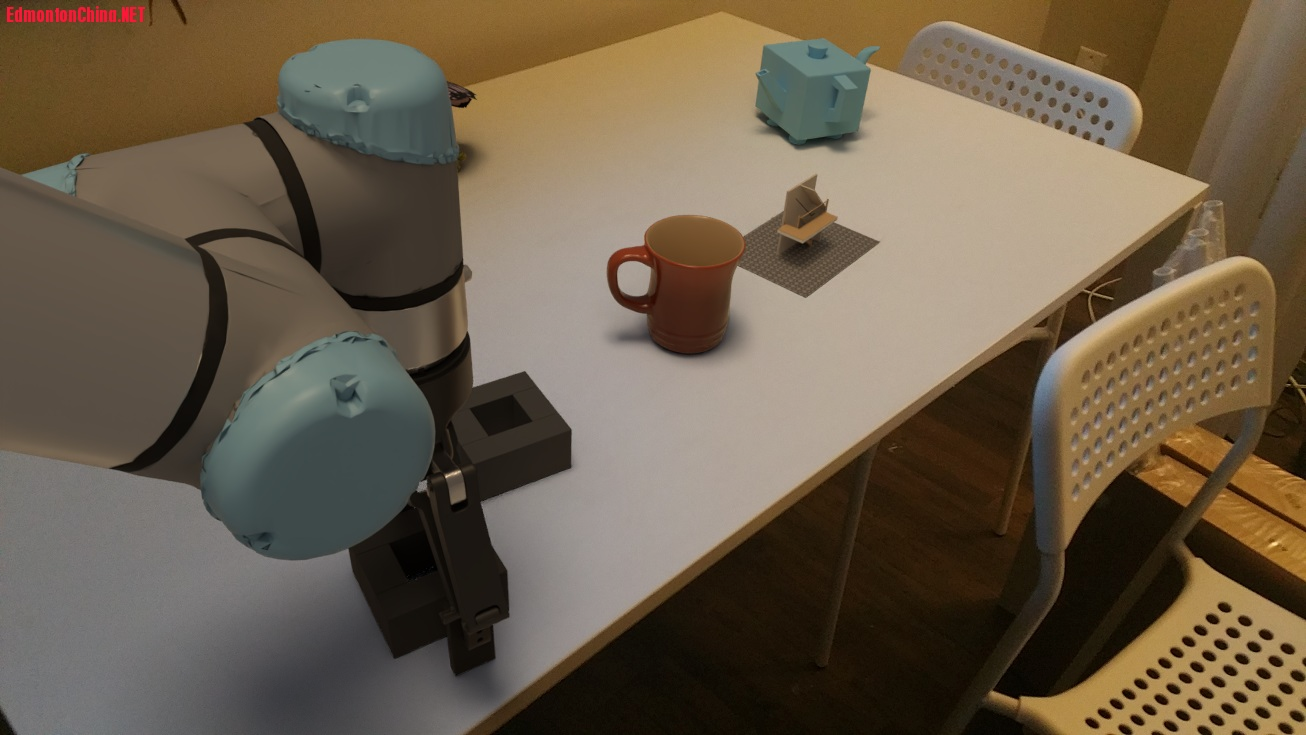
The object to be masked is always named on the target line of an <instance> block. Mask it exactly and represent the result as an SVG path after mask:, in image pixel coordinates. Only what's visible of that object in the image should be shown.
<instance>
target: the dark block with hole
mask: <svg viewBox="0 0 1306 735" xmlns="http://www.w3.org/2000/svg"><path fill="white" fill-rule="evenodd" d="M492 548H493V552H494V556H495V560H496V564H497V568H498V572H499V576H500V579H501V583H502V587H503V591H504V595H505V599H506V603H507V605H508V607H509V608H510V599H509V597H510V596H509V576H508V569H507V567H506V566H505V564H504V562H503V560H502V559H501V557H500V556H499V554H498V553H497V551H496V550H495V548H494V545H492ZM348 555H349V560H350V565H351V570H352V574H353V576H354V578H355V580H356V582H357V584H358V586H359V589H360V591H361V592H362V595H363V598H364V599H365V601H366V603H367V606H368V608H369V609H370V612H371V614H372V616H373V618H374V620H375V622H376V624H377V626H378V628H379V630H380V632H381V634H382V636H383V639H384V640H385V643H386V645H387V647H388V649H389V651H390V654H391V656H392V658H393V659H397V658H400V657H402V656H404V655H406V654H409V653H411V652H413V651H416V650H418V649H421V648H423V647H425V646H427V645H430V644H432V643H434V642H436V641H440V640H441V639H443V638H447V631H446V624H445V625H444V624H443V622H442V620H441V618H440V616H439V613H440V612H443V611H444V606H443V602H444V601H446V600H448V598H447V595H446V592H445V589H444V586H443V583H442V580H441V577H440V574H439V571H438V569H437V570H435V571H433V572H430V573H427V574H425V575H422V576H420V577H417V578H415V579H412V580H409V579H408V578H409V577H411V576H414V575H416V574H419V573H421V572H424V571H427V570H429V569H432V568H434V567H437V565H436V562H435V559H434V556H433V553H432V550H431V546H430V543H429V540H428V537H427V534H426V531H425V528H424V525H423V522H422V519H421V516H420V513H419V510H418V509H417V508H416V507H415V508H413V509H410V510H408V511H405V512H402V513H399V514H397V515H396V516H395V517H394V518H393V519H392V520H391V521H390V522H389V523H388V524H386V525H385V526H384V527H383V528H382V529H380V530H379V531H377V532H376V533H375V534H373V535H372V536H370V537H369V538H367V539H365V540H363V541H362V542H360V543H358V544H356V545H354V546H352V547H350V548H348Z"/></svg>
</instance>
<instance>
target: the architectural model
mask: <svg viewBox="0 0 1306 735" xmlns="http://www.w3.org/2000/svg"><path fill="white" fill-rule="evenodd" d="M817 180H818V173H815V174H813V175H812V176H810V177H808V178H806V179H805V180H803V181H801V182H800V183H798V184H796V185H794V186H793V187H791V188H789V189H788V190H786V195H785V201H784V206H783V211H781V212H780V213H777V215H775V216H774V217H773V216H772V218H770V219H768V220H767V221H765V222H764V223H762V224H760V225H759V226H758V227H756V228H755V229H752V230H751V231H750V232H748V233H747V234H744V235H742V236H743V237H744V240H745V244H746V247H745V251H744V254H743V256H742V258H741V259H740V261H739V263H738V265H737V267H738V266H739V267H741V268H742V269H745V270H747V271H749V272H751V273H754V274H756V275H757V276H759V277H761V278H764V279H766V280H768V281H770V282H772V283H774V284H777V285H778V286H781V287H783V288H785V289H787V290H789V291H791V292H792V293H793V292H794V293H796V294H797V295H800V296H802V297H804V298H807V297H809V296H810V295H812V294H813V293H814V292H815V291H817V290H818V289H820V287H822V286H823V285H825V284H826V283H828V282H829V281H830V280H831V279H833V278H834V277H835V276H837V275H838V274H839V273H841V272H842V271H844V270H845V269H846V268H847V267H849V266H850V265H851V264H852V263H854V262H856V261H857V260H858V259H860V258H861V257H862V256H863V255H865V254H866V253H867V252H869V251H870V250H872V249H873V248H875V247H876V246H877V245H878V244H879V243H880V240H877V239H875V238H872V237H870V236H867V235H866V234H863V233H860V232H858V231H856V230H853V229H851V228H849V227H846V226H844V225H842V224H839V223H837V221H838V218H839V217H838V216H837V215H835V214H832V213H830V212H827V210H828V206H829V202H830V200H829V198H826V200H825V201H824V202H823V200H822V199H821V197H820V196H819V194H818V193H817V191H816V187H817V186H816V185H817V182H818V181H817Z"/></svg>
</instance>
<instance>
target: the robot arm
mask: <svg viewBox="0 0 1306 735" xmlns="http://www.w3.org/2000/svg"><path fill="white" fill-rule="evenodd" d="M277 76H278V77H277V86H278V95H277V97H276V105H277V110H276V111H275V112H272V113H267V114H264V115H260V116H256V117H254V118H253V119H252V120H250V121H246V122H245V121H244V122H241V123H239V124H238V123H237V124H232V125H227V126H222V127H218V128H213V129H209V130H208V129H207V130H203V131H199V132H194V133H189V134H185V135H180V136H176V137H170V138H166V139H161V140H157V141H152V142H146V143H143V144H138V145H133V146H129V147H124V148H119V149H114V150H110V151H105V152H100V153H96V154H90V153H89V152H86V153H79V154H77V155H74V156H73V157H72V158H71V159H70V160H69V161H65V162H61V163H58V164H54V165H51V166H48V167H44V168H41V169H37V170H33V171H30V172H27V173H22V174H19V173H16V172H15V171H14V172H13V171H11V170H8V169H6V168H3V167H1V166H0V451H3V452H11V453H14V454H15V453H16V454H22V455H27V456H33V457H39V458H43V459H44V458H45V459H50V460H57V461H60V462H61V461H62V462H67V463H74V464H79V465H80V464H81V465H85V466H90V467H96V468H102V469H108V470H113V471H118V472H123V473H126V474H130V475H134V476H137V477H142V478H143V477H144V478H149V479H155V480H161V481H167V482H174V483H179V484H185V485H188V486H191V487H194V488H196V489H197V490H199V491H200V494H201V500H202V501H203V502H202V503H203V506H204V508H205V510H206V511H207V513H208V514H209V515H210V517H212V518H214V519H215V520H216V521H219V522H221V523H222V524H223V525H224V527H226V528H227V530H228V531H229V532H230V533H231V535H232V536H233V537H234V539H235V540H236V541H237V542H239V543H241V544H242V545H244V546H245V547H246V548H248V549H250V550H252V551H254V552H255V553H256V554H258V555H261V556H262V557H265V558H271V559H274V560H279V561H280V560H281V561H292V562H293V561H307V560H312V559H316V558H321V557H326V556H331V555H335V554H337V553H340V552H343V551H346V550H347V549H348V548H350V547H352V546H354V545H356V544H358V543H360V542H362V541H363V540H365V539H367V538H369V537H370V536H372V535H373V534H375V533H376V532H377V531H379V530H380V529H382V528H383V527H384V526H385V525H386V524H388V523H389V522H390V521H391V520H392V519H393V518H394V517H395V516H396V515H397V514H399V513H402V512H405V511H408V510H410V509H413V508H417V509H418V510H419V513H420V516H421V519H422V522H423V525H424V528H425V531H426V534H427V537H428V540H429V543H430V546H431V550H432V553H433V556H434V559H435V562H436V565H437V566H436V567H437V570H438V571H439V574H440V577H441V580H442V583H443V586H444V589H445V592H446V595H447V598H448V600H446V601H444V602H443V606H444V611H443V612H440V613H439V616H440V618H441V620H442V622H443V624H444V625H445V624H446V631H447V636H446V639H447V647H448V654H449V662H450V668H451V670H452V672H453V675H454V676H455V677H457V676H460V675H462V674H464V673H466V672H469V671H470V670H473V669H475V668H478V667H480V666H482V665H484V664H486V663H488V662H491V661H493V660H495V659H496V645H495V632H494V625H496V624H498V623H500V622H503V621H504V620H507V619H509V618H510V615H511V614H510V612H509V611H510V606H509V607H508V605H507V603H506V599H505V595H504V591H503V587H502V583H501V579H500V576H499V572H498V568H497V564H496V560H495V556H494V552H493V549H494V547H493V548H492V546H493V545H492V541H491V536H490V533H489V528H488V525H487V520H486V517H485V512H484V509H483V506H482V501H480V493H479V486H478V478H477V469H476V467H475V466H474V465H473V463H472V462H471V461H468V462H465V463H462V464H461V461H460V458H459V455H458V452H457V448H456V447H457V444H458V438H457V435H456V432H455V429H454V426H453V423H452V421H451V419H452V418H453V416H454V415H455V414H456V413H457V412H458V411H459V410H460V408H461V407H462V406H463V405H464V404H465V402H466V401H467V400H468V398H469V396H470V394H471V391H472V388H473V387H474V371H473V357H472V356H473V355H472V343H471V336H470V333H469V330H468V328H469V319H468V318H469V317H468V316H469V315H468V304H467V294H466V283H468V282H470V281H471V280H472V279H473V271H472V269H471V268H470V267H469V265H468V264H464V249H463V248H464V247H463V232H462V216H461V201H460V188H459V186H460V185H459V174H458V173H459V171H458V170H457V163H458V162H457V160H458V158H459V152H460V146H459V144H458V142H457V134H456V127H455V121H454V113H453V106H452V104H451V100H450V97H449V91H448V85H447V81H448V80H447V79H446V75H445V73H444V71H443V69H442V68H441V67H440V65H439V64H438V63H437V62H436V61H435V60H434V59H433V58H431V57H429V56H428V55H426V54H424V53H423V52H422V51H421V50H419V49H418V48H415V47H413V46H411V45H408V44H404V43H400V42H396V41H392V40H386V39H377V38H376V39H375V38H349V39H348V38H347V39H337V40H331V41H327V42H321V43H318V44H315V45H313V46H312V47H310V48H309V49H308V51H304V52H303V51H302V52H298V53H295V54H294V55H292V56H290V57H288V59H287V60H286V61H284V63H283V64H282V66H281V68H280V70H279V73H278V75H277ZM425 481H426V488H425V489H423V490H420V491H418V489H419V486H420V483H421V482H425Z"/></svg>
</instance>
